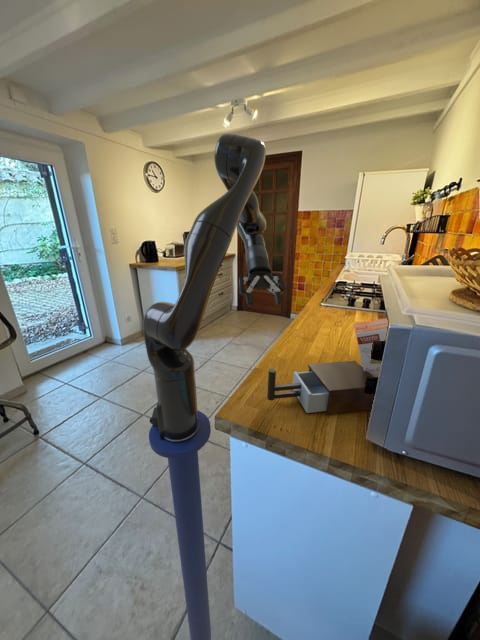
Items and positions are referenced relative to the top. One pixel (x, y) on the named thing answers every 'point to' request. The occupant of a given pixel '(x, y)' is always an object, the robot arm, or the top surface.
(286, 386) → the drawer
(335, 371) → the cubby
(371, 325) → the cracker box
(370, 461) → the top surface
